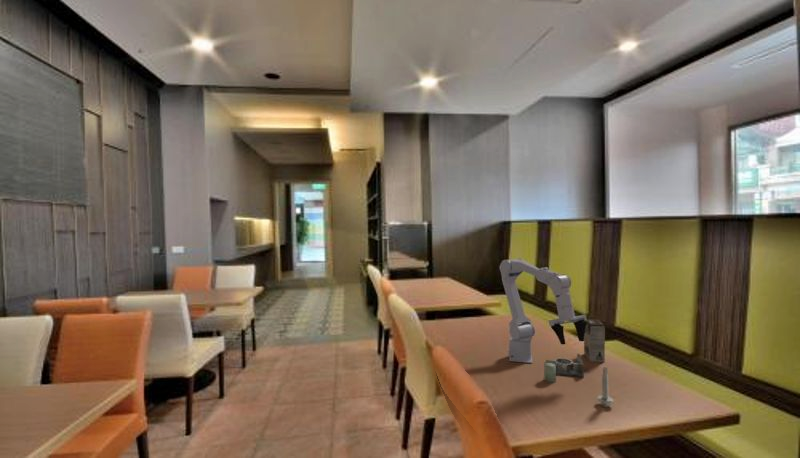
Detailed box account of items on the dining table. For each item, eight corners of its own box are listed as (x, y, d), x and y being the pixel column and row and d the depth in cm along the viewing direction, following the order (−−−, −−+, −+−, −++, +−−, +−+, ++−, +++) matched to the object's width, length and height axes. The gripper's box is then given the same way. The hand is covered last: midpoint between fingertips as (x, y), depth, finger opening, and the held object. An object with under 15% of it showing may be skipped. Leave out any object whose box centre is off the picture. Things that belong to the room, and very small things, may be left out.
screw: (597, 407, 123) (596, 400, 127) (614, 410, 121) (612, 403, 126) (597, 368, 122) (596, 362, 127) (614, 370, 121) (612, 364, 125)
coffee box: (583, 353, 170) (583, 318, 169) (598, 354, 169) (598, 319, 168) (589, 361, 161) (589, 324, 160) (605, 362, 160) (605, 325, 159)
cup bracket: (547, 373, 149) (547, 361, 149) (545, 362, 161) (545, 350, 161) (583, 377, 145) (583, 364, 145) (579, 365, 157) (579, 353, 156)
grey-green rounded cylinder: (544, 382, 142) (544, 366, 142) (544, 377, 146) (544, 362, 146) (556, 383, 141) (556, 367, 141) (555, 378, 145) (555, 363, 144)
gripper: (552, 309, 139) (560, 346, 137) (588, 303, 142) (596, 340, 139) (543, 308, 146) (550, 344, 144) (577, 303, 148) (584, 339, 146)
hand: (572, 342), depth 142 cm, fingers open, 7 cm apart
